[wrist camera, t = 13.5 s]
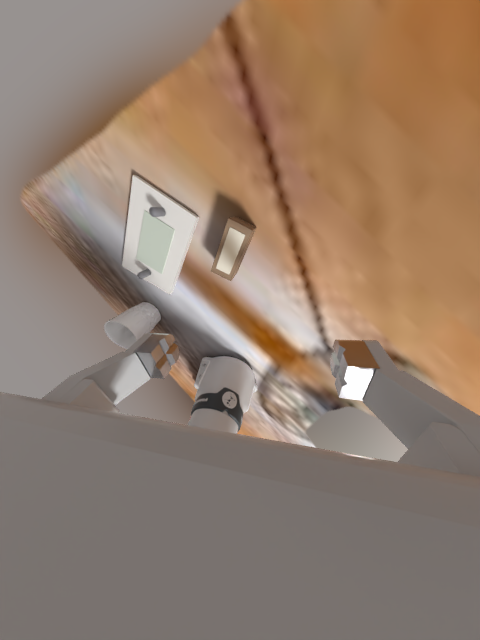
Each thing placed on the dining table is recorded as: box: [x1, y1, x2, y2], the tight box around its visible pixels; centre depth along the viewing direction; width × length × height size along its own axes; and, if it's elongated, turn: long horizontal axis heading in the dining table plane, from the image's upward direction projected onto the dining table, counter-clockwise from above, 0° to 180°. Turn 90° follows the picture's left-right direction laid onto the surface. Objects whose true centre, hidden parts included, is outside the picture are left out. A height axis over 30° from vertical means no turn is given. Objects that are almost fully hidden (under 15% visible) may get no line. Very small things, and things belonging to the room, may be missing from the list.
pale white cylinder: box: [104, 302, 161, 349], centre depth 42 cm, size 8×8×10 cm
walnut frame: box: [211, 216, 256, 281], centre depth 30 cm, size 9×4×5 cm, turn 157°
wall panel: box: [122, 175, 199, 295], centre depth 34 cm, size 18×12×4 cm, turn 150°
